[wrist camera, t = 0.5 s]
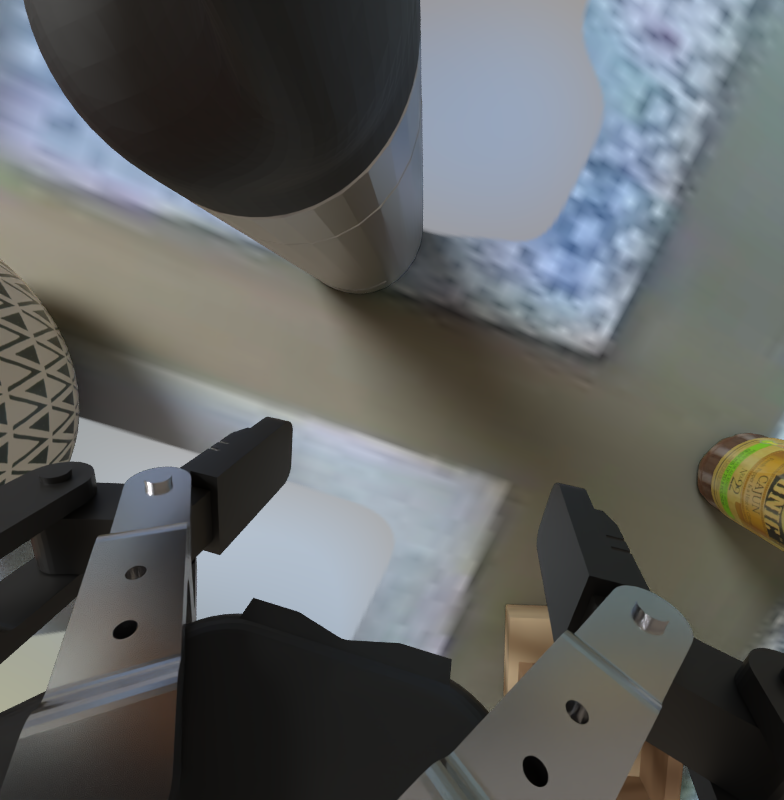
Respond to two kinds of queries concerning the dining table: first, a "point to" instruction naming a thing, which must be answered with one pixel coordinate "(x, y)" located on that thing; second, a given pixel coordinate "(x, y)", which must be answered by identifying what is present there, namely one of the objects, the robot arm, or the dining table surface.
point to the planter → (33, 383)
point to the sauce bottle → (747, 483)
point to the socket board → (524, 644)
